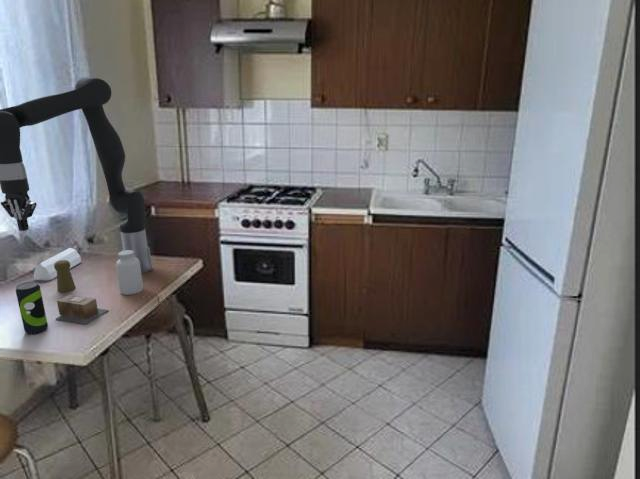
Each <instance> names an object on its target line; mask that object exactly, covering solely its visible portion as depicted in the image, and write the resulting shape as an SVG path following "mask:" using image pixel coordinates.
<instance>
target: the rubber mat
mask: <svg viewBox="0 0 640 479" xmlns="http://www.w3.org/2000/svg"><path fill="white" fill-rule="evenodd" d="M108 312H109V310H108V309H103V308H98V313H97V314H95V315H93V316H92V317H90V318H88V319H82V318H75V317H69V316H63V315H59V316H57V317H56V318H55V320H56V321H60V322H65V323H74V324H80V325H83V326H84V325H88V324H89V323H91V322H93V321H94V320H96V319H98V318H99V317H101V316H103V315H104V314H106V313H108Z"/></svg>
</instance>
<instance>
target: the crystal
mask: <svg viewBox="0 0 640 479" xmlns="http://www.w3.org/2000/svg"><path fill="white" fill-rule="evenodd" d="M60 260H67V261H69V263H70V268H69V270H70V269H72V268H74V267H75V266H77V265H78V264H81V262H82V259H81V254H79V253H78V251H77V250H76V249H74V248H72V247H68V248H66V249H65V250H63V251H61V252H59V253H57V254H56V255H53V256H51V257H50V258H48V259H45V260H44V261H42V262H40V263H39V264H37V266H36V267H35V270H34V272H33V278H34V280H35V281H43V282H45V281H47V282H48V281H51V280H54V279H55V278H57V271H56V270H55V268H54V264H55V263H56V262H57V261H60Z"/></svg>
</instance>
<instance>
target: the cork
mask: <svg viewBox="0 0 640 479" xmlns="http://www.w3.org/2000/svg"><path fill="white" fill-rule="evenodd" d="M54 268H55V270H56V271H57V276H56V283H57V286H56V287H57V292H59V293H67V292H71V291H75V289H76V285H75V281H74V279H73V275H72V273H71V270H70V269H71V268H70V263H69V261H67V260H60V261H57V262H56V263H55V264H54ZM69 268H70V269H69Z"/></svg>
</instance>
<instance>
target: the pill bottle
mask: <svg viewBox="0 0 640 479" xmlns="http://www.w3.org/2000/svg"><path fill="white" fill-rule="evenodd" d="M117 255H118V260H117V261H116V262H115V267H116V274H117V281H118V287H119V288H118V289H119V293H120V294H121V295H125V296H129V295H130V296H131V295H136V294H139V293H141V292H142V291H143V290H144V286H143V284H144V283H143V276H142V274H141V268H140V261H139V259H138V258H136V257H135V255H134V251H132V250H125V251H123V250H121V251H119V252H118V254H117Z"/></svg>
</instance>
